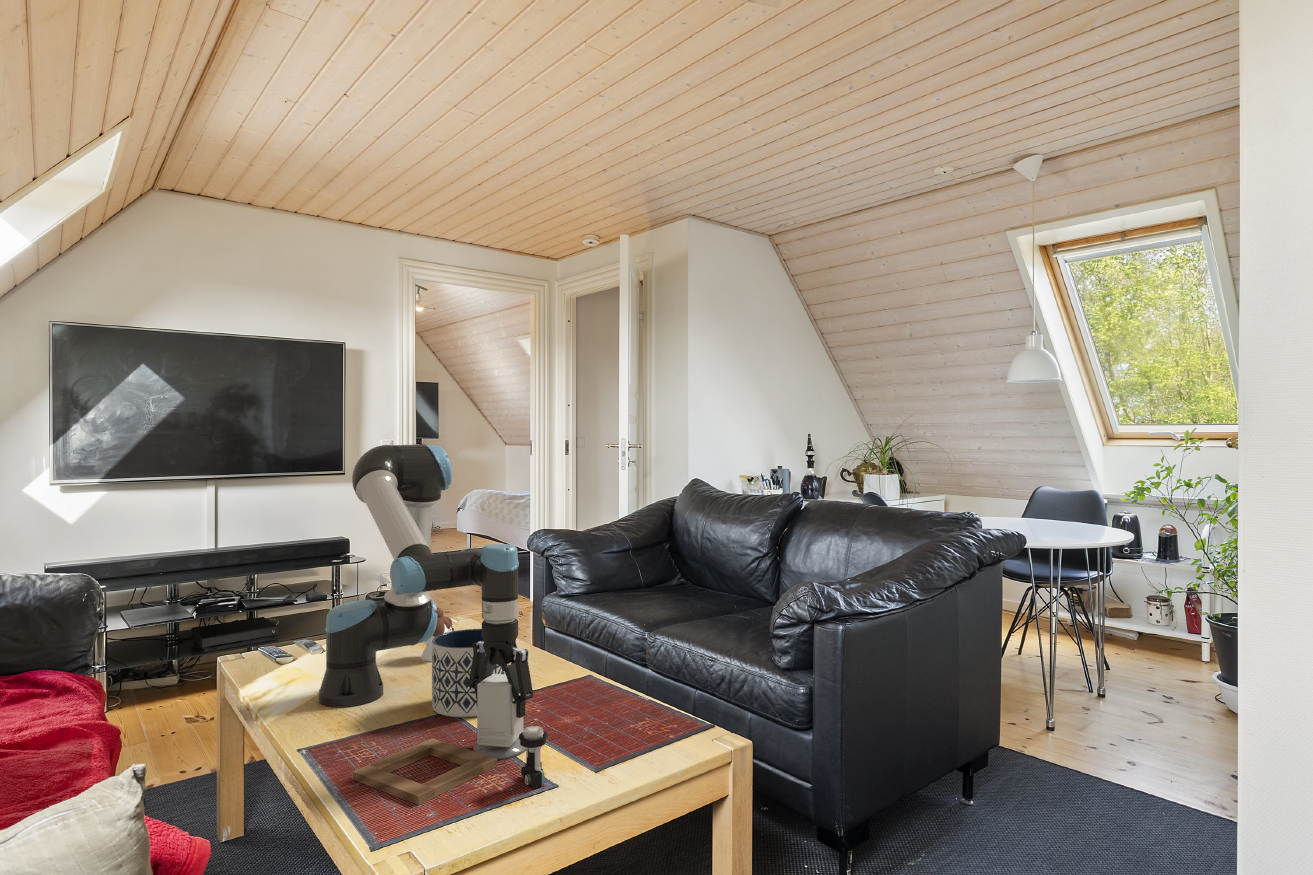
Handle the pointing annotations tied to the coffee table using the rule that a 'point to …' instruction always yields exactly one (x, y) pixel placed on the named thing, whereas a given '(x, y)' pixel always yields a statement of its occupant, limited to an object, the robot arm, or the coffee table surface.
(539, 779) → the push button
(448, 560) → the robot arm
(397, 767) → the board
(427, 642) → the figurine
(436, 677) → the planter
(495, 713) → the supplement box
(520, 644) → the coffee table surface
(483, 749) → the coaster
